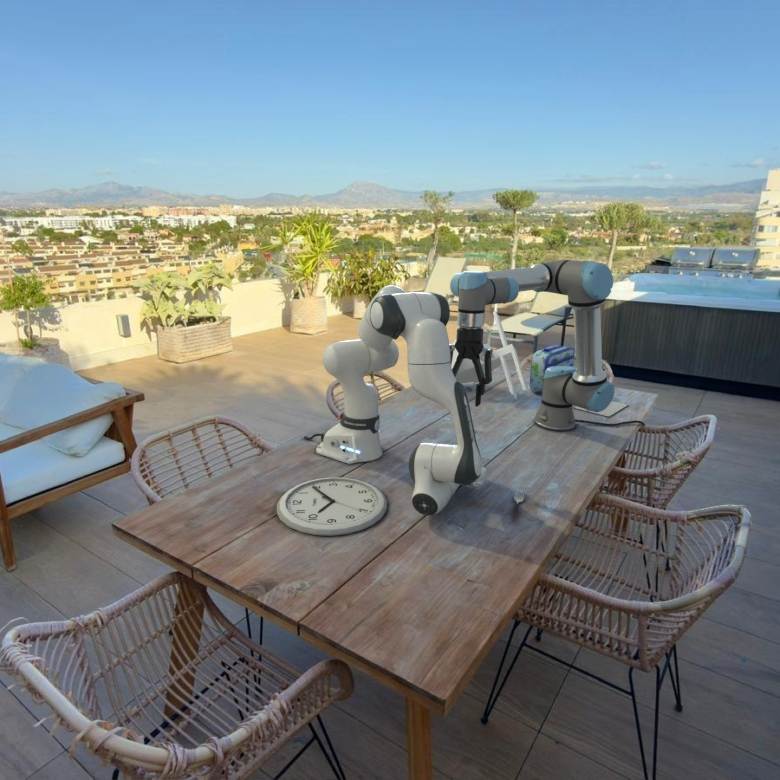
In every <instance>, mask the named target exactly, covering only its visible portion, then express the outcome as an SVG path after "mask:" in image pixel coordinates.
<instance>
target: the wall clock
mask: <svg viewBox="0 0 780 780" xmlns="http://www.w3.org/2000/svg"><path fill="white" fill-rule="evenodd" d="M387 509H388V500H387V498H386V496H385V494H384V493H383V492H382V491H381V490H380V489H379V488H377V487H376V486H374V485H372V484H371V483H369V482H365V481H362V480H359V479H355V478H349V477H338V476H337V477H335V476H333V477H332V476H331V477H322V478H317V479H312V480H307V481H305V482H302V483H299V484H297V485H295V486H293V487H292V488H290V489H288V490H287V491H286V492H285V493H284V494H283V495H281V496H280V498H279V499H278V502H277V503H276V515H277V517H278V518H279V520H280V521H281V522H282V523H283V524H285V525H286V526H287V527H288V528H290V529H293V530H295V531H297V532H299V533H303V534H308V535H312V536H327V537H328V536H329V537H331V536H332V537H333V536H342V535H350V534H352V533H356V532H361V531H363V530H366V529H368V528H369V527H372V526H373V525H375V524H376V523H378V522H379V521H380V520H381V519H382V518H383V517H384V516H385V514H386V512H387Z"/></svg>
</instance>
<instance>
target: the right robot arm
mask: <svg viewBox="0 0 780 780" xmlns="http://www.w3.org/2000/svg"><path fill="white" fill-rule="evenodd" d="M613 286H614V276H613V272H612V270H611V269H610V267H609V266H607V264H605V263H603V262H598V261H595V260H594V261H593V260H591V261H590V260H574V259H558V260H552V261H545V262H540V263H539V262H538V263H534V264H532V265H531V266H530V267H521V268H520V267H519V268H511V269H503V270H492V271H482V270H464V271H462V272H457V273H455V274H454V275H453V276H452V277H451V279H450V282H449V289H450V292H451V293H452V295H453V296H454V297H457V298H458V303H457V304H458V305H457V308H458V309H457V322H456V325H457V328H456V338H455V339H457V341H456V343H455V344H454V343H449V345H450V354H451V364H452V358H453V351H454V350H455V348H456V350H457V352H458V353H459V354H458V356H457V358H456V362H455V364H454V366H453V369H452V372H453V374H454V376H455V378H456V374H457V372H458V370H459V368H460V365H461V363H462V361H463V359H466V358H467V359H470V360H472V362H473V364H474V367H475V371H476V374H477V378H478V381H479V382H478V383H476V387H475V403H474V407H477V408H478V407H479V406H480V405H481V403H482V401H481V400H482V396H483V395H485V394H486V393H485V391H486V385H489V384H491V383H492V381H493V371H492V367H491V356H492V352H493V350H494V349H493V348H492V349H487V348H484V346H483V344H484V343H483V341H484V331H485V330H484V328H483V327H484V325H485V313H486V306H488V305H499V304H502V305H503V304H504V305H505V304H508V303H512V302H514V301H515V300H517V298H518V296H519V293H520V292H527V291H528V292H529V291H533V292H535V293H543V292H545V293H551V294H557V295H562V296H567V304H568V306H570V307H571V308H572V309H573V311H572V312H573V329H574V330H573V331H574V354H575V366H573V367H570V366H555V367H549V368H547V369H546V370H545V375H544V378H543V379H544V380H543V391H542V393H541V402H540V405H539V407H538V410H537V411H536V413H535V417H534V424H535V425H536V426H537V427H539V428H542V429H544V430H549V431H556V432H567V431H572V430H574V429H575V428H576V423H585V424H591V425H598V426H606V427H617V426H620V425H627V424H635V423H636V424H637V423H638V424H640V425H642V426H646V423H644V422H643V421H641V420H628V421H620V422H618V423H617V422H616V423H607V422H597V421H590V420H584V419H576V418H575V417H576V416H575V413H574V407H576V406H578V407H581V408H584V409H587V410H588V411H593V412H601V411H603V410H604V409H606V408H607V407H608V405H609V404H610V402H611V401H613V399H614V396H615V391H616V389H615V385H614V384H613V383H612V382H611V381H608V373H607V372H606V371H605V370H604V369H603V353H602V352H603V351H602V349H603V348H602V313H601V310H602V309H601V307H602V305H603V304H604V303H605V302H606V299H607V298H608V297H609V296H610V295H611V293H612V289H613ZM481 352H483V355H484V356H485V358H484V363H485V376H484V373H483V369H482V366H481V362H480V356H479V354H480V353H481ZM456 380H458V379H456ZM573 406H574V407H573ZM588 411H587V412H588Z"/></svg>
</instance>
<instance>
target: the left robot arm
mask: <svg viewBox="0 0 780 780" xmlns="http://www.w3.org/2000/svg"><path fill="white" fill-rule="evenodd" d="M450 316H451V309H450V305H449V302H448V299H446V296H444V295H442V294H440V293H437V292H422V291H421V292H420V291H409V292H406V291H405V290H404V289H403V288H401V287H400V286H397V285H393V284H392V285H391V284H390V285H386V286H383V287H382V288H381V289H379V291H378V292H377V293H376V294H375V295H374V296H373V298H372V299H371V300H370V302H369V304H368V306H367V308H365V312H364V313H363V315H362V317H361V319H360V321H359V322H358V325H357V334H358V337H359V338H358V339H348V340H347V339H346V340H340V341H337V342H334V343H331V344H328V345H327V346H326V347H325V348H324V350H323V352H322V365H323V367H324V369H325V371H326V372H327V373H328V374H329V375H330V376H332V377H334V379H335V380H337V381H338V383H339V384H340V386H341V389H342V393H343V403H344V411H342V412H341V413H340V414H339V415H338V416H337V420H340V421H339V422H338V423H336V424H335V425H334V426H332V427H331V428H329V429H327V430H326V431H323V432H321V433H315V434H313V435H312V436H309V437H308V436H305V435H304V437H303V439H305V440H307V441H310V440H313V439H314V438H315V437H320V441H321V443H320V444H318V445H317V446H316V449H315V453H316V454H318V455H321V456H324V457H326V458H330V459H332V460H336V461H339V462H342V463H344V464H347V465H352V464H356V463H363V462H364V463H365V462H371V461H375V460H378V459H380V458H381V457H382V455H383V454H384V452H383V449H382V445H381V440H380V427H381V426H380V425H381V423H380V422H381V419H380V417H381V416H380V412H379V392H378V389H377V388H376V387H375V386H374V385H372V384H371V383H368V382H366V381H365V379H364V376H365V374H370V373H376V372H377V373H378V372H383V371H385V370H388V369H391V368H393V367H395V366H396V365H397V363H398V361H399V357H400V351H399V347H398V345H397V343H396V342H395V341H396V340H397V339H399V338H400V337H402V338H403V340H405V342H406V347H407V356H406V358H407V360H406V361H407V376H408V377H407V378H408V382H409V385H411V387H412V389H413V391H415V392H416V393H417V394H419V395H420V396H422V397H423V398H425V399H428V400H430V401H433V402H435V403H437V404H439V405H441V406H443V407H444V408H445V409H446V410H447V411H448V412H449V413H450V415H451V417H452V421H453V427H454V430H455V438H456V437H457V442H458V445H456V444H447V443H439V442H420V443H418V444H417V445H416V446H415V447H414V449H413V450H412V452H411V454H410V456H409V459H408V470H409V475H410V478H411V480H412V482H413V484H414V487H413V488H414V489H413V492H412V494H411V505H412V507H413V508H414V510H416V511H417V512H418V513H420V514H422V515H423V516H428V517H429V516H431V517H432V516H435V515H437V514H439V513H440V512H441V511H442V510H443V509H445V507H446V506H447V505H448V503H449V502H450V500H451V498H452V497H453V496H454V494H455V493H456V491H457V490H458V489H459V487H460V486H462V487H463V486H464V487H467V488H475V489H476V488H479V487H482V486H483V484H484V483H486V481H487V479H488V478H487V477H488V469H487V468H486V467H484V466H483V462H482V461H483V460H482V456H481V453H480V449H479V445H478V442H477V438H476V433H475V428H474V423H473V417H472V412H471V407H470V402H469V399H468V395H467V394H468V393H467V392H466V388H465V386H464V384H463V383H459V382H458V381H457V380H456V378H455V376H454V374H453V372H452V368H451V354H450V345H449V344H450V340H449V335H448V334H449V333H448V330H447V327H446V326H448V325H447V324H448V323H449V320H450Z"/></svg>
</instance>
